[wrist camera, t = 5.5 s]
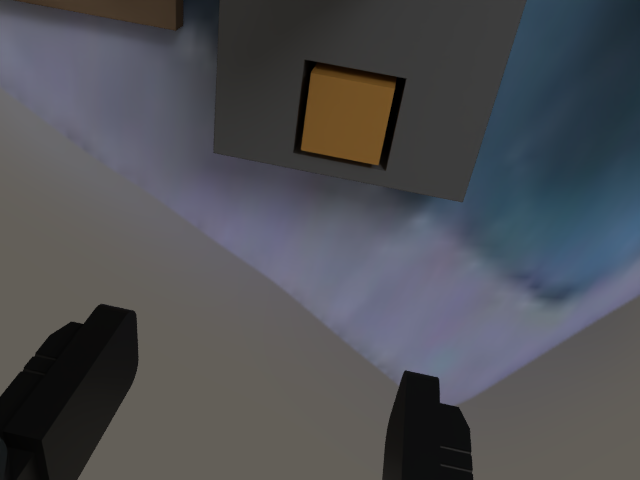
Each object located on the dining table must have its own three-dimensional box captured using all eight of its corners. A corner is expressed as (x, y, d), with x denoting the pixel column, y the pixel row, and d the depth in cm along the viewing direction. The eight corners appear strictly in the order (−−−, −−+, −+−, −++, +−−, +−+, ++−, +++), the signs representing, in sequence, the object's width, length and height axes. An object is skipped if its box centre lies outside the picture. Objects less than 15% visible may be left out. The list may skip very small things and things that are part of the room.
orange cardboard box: (325, 48, 28) (311, 73, 25) (399, 62, 28) (394, 88, 25) (315, 118, 30) (300, 150, 27) (384, 131, 30) (378, 165, 27)
